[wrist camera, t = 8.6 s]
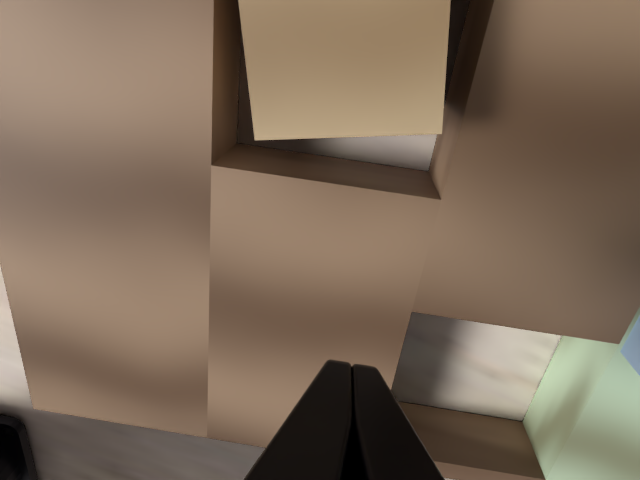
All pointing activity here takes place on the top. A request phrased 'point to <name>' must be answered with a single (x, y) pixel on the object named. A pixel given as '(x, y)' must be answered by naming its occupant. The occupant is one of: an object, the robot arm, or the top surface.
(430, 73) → the oak cube
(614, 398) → the trap board
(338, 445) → the robot arm
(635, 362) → the blue block
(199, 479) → the top surface
